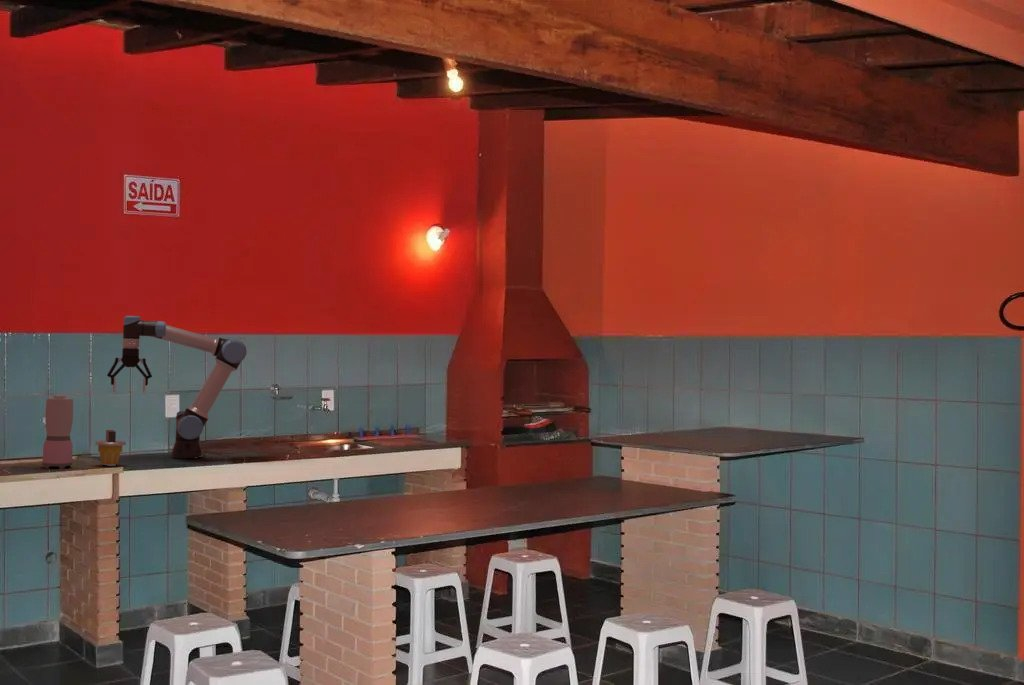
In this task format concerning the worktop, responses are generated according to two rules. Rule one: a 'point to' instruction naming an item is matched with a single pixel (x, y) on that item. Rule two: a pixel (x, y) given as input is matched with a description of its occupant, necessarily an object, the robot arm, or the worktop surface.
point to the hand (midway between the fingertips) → (129, 392)
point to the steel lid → (110, 439)
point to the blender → (58, 432)
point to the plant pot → (109, 454)
